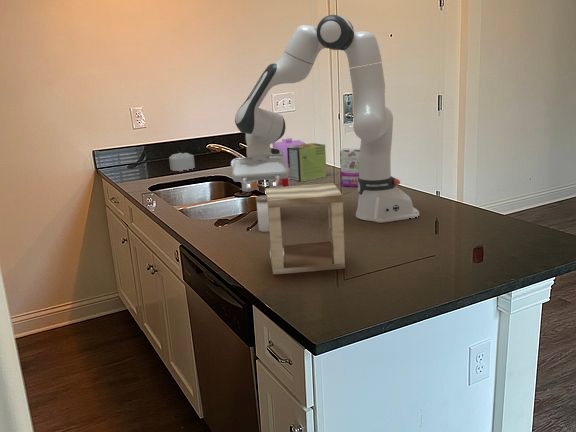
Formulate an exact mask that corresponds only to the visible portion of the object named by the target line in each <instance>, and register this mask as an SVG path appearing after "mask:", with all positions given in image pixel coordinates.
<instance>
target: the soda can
mask: <svg viewBox="0 0 576 432" xmlns="http://www.w3.org/2000/svg"><path fill="white" fill-rule="evenodd" d="M287 165H288V170H289V176H288V177H287V178H284V179H279V182H278V184H277V187H289V186H292V180H291V173H290V167H289V164H287ZM275 181H276V180H275V179H273V183H274V182H275Z"/></svg>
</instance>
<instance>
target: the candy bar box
mask: <svg viewBox="0 0 576 432" xmlns="http://www.w3.org/2000/svg"><path fill="white" fill-rule="evenodd" d="M359 152H360V148H341V149H340V150H339V161H340V162H339V163H340V187H341V186H343V187H345V188H358V178H359Z"/></svg>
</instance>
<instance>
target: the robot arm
mask: <svg viewBox="0 0 576 432" xmlns="http://www.w3.org/2000/svg"><path fill="white" fill-rule="evenodd" d="M324 49H329V50H331V51H343V52H344V53H345V54H346V57H347V61H348V62H347V63H348V68H349V70H348V71H349V76H350V82H351V89H352V111H353V113H352V115H353V116H352V117H353V132H354V133H355V136H356V137H358V138H359V139H360V145H359V149H360V152H359V178H358V187H357V192H358V203H357V209H356V212H355V217H356V218H357V219H359V220H364V221H369V222H375V223H388V222H389V223H390V222H394V221H402V220H409V218H411V219H415V217H417V218H419V217H420V211H419V210H418V209H417V208H416V207H414V206H413V201H412V199H411V196H410V195H408V194H407V193H406V192H404V191H403V190H402V189H400V188H399V187H397V186H399V185H400V184H401V181H400V180H399V179H398V178H396V177H393V176H392V175H391V173H392V171H391V153H392V152H391V151H392V144H393V143H392V141H393V130H394V129H393V128H394V127H393V124H394V115H393V113H392V111H391V110H390V109H389V108H388V107H387V106H386V98H385V97H386V95H385V93H386V82H385V74H384V69H383V68H384V67H383V62H382V55H381V52H380V48H379V44H378V41H377V38H376V36H375V34H374V33H372V32H370V31H366V30H362V31H355V29H354V26H353V25H352V23H351V21H350V20H348V19H347V18H346V17H344V16H342V15H337V14H329V15H326V16H324V17H323V18H321V20H320V21H319V22H318V24H317V25H316V26H312V25H310V24H301V25H299V26H298V27H297V28H296V29H295V30H294V32H293V33H292V36H291V37H290V38H289V40H288V42H287V45H286V46H285V49H284V51H283V53H282V55H281V56H280V57H279V59H277V60H276V61H275V62H274V63H270V64H269V65H268V66H267V67H266V68H265V70H264V71H263V73H262V74H261V75H260V77H259V78H258V79H257V81H256V83H255V85H254V86H253V89H252V90H251V91H250V93H249V94H248V96H247V98H246V99H245V101H244V102H243V104H241V106H240V107H239V108H238V110H237V111H236V113H235V117H234V123H235V126H236V129H238V131H239V132H240V133H242V134H245V144H246V156H245V157H235V158H234V159H232V160H231V161H230V167H231V169H232V172H231V174H232V175H231V177H232V180H233V181H234V182H235V183H236V182H237V183H238V182H242V181H243V184H244V185H245V187H246V191H250V190H251V189H250V184H247V181H254V180H257V181H264V180H274V179H275V180H276V181H275V182H274V181H273V182H272V188H276V187H277V184H278V182H279V179H284V178H287V177H288V176H289V170H288V165H287V161H286V159H285V158H284V157H283V151H282V150H280V149H275V148H273V147H271V144H272V143H274V142H278V141H279V140H281V138H283V136H284V134H286V133H285V132H286V120H285V118H284V117H283V115H281V114H279V113H277V112H273V111H270V110H266V109H263V108H260V106H261V105H262V102H263V101H264V99H265V98H266V96H267V95H268V93H269V91H270V90H271V89H272V88H273V87H275V86H278V85H284V84H295V83H300V82H301V81H303V80H306V79H307V77H308V76H309V74H310V72H311V70H312V69H313V66H314V64H315V61H316V60H317V57H318V55H319V53H320V52H321V51H322V50H324ZM246 191H245V192H246ZM250 192H251V191H250ZM418 216H419V217H418Z"/></svg>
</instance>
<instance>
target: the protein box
mask: <svg viewBox="0 0 576 432" xmlns="http://www.w3.org/2000/svg"><path fill="white" fill-rule="evenodd" d="M326 153H327V152H326V144H321V143H317V142H310V143H306V144H303V145H297V146H291V147H287V155H288V164H289V167H290V173H291V181H296V182H300V183H304V182H308V181H312V180H317V178H318V179H323V178H327V157H326V156H327V155H326ZM322 177H323V178H322Z"/></svg>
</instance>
